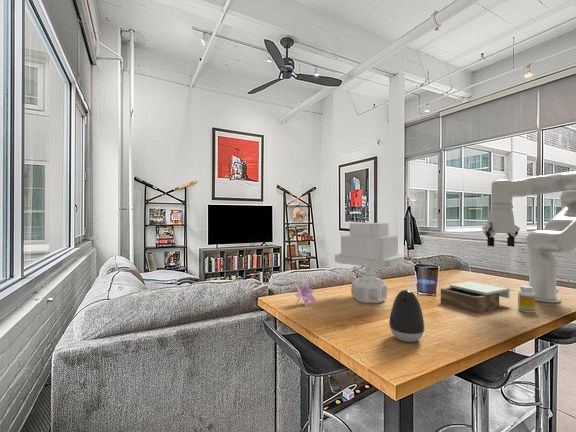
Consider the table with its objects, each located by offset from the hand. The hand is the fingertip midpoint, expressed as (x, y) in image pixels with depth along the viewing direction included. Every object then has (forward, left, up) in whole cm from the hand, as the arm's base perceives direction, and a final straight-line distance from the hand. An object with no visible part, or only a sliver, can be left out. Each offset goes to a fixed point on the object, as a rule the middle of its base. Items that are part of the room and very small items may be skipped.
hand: (500, 246), depth 134 cm
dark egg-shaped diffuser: (+70, +11, -25) cm, 75 cm away
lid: (+11, -3, -22) cm, 24 cm away
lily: (+80, -36, -25) cm, 91 cm away
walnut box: (+17, -3, -25) cm, 31 cm away
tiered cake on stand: (+50, -29, -25) cm, 63 cm away
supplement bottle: (+4, +12, -25) cm, 28 cm away
